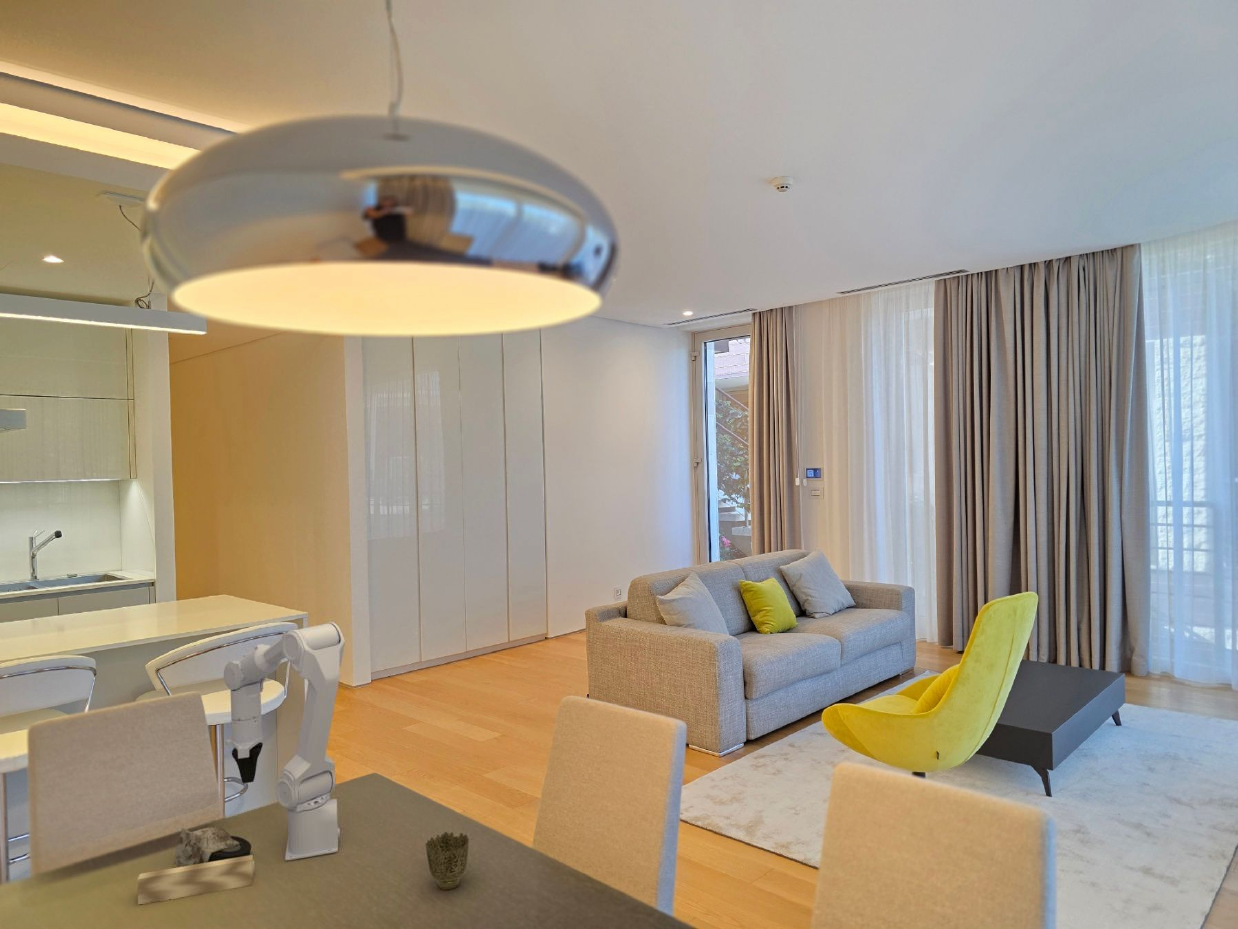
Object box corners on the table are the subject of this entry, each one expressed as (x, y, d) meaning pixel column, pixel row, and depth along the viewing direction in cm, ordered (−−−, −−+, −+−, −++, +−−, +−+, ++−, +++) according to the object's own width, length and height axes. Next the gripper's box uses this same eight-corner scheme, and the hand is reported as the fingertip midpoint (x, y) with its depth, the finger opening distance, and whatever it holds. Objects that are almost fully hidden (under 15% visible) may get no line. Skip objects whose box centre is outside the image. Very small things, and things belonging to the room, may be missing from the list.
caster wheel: (255, 872, 157) (208, 888, 148) (217, 848, 162) (170, 863, 153) (263, 837, 157) (217, 852, 148) (225, 815, 162) (179, 827, 154)
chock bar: (254, 873, 151) (254, 848, 151) (252, 885, 147) (251, 859, 147) (144, 892, 145) (143, 867, 145) (138, 905, 141) (137, 879, 141)
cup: (477, 878, 146) (476, 834, 146) (456, 900, 139) (455, 852, 139) (441, 873, 149) (440, 829, 149) (418, 893, 142) (417, 847, 142)
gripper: (229, 709, 177) (231, 772, 177) (220, 729, 163) (222, 797, 163) (265, 705, 179) (267, 767, 179) (259, 724, 165) (261, 792, 165)
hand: (248, 781), depth 171 cm, fingers closed
